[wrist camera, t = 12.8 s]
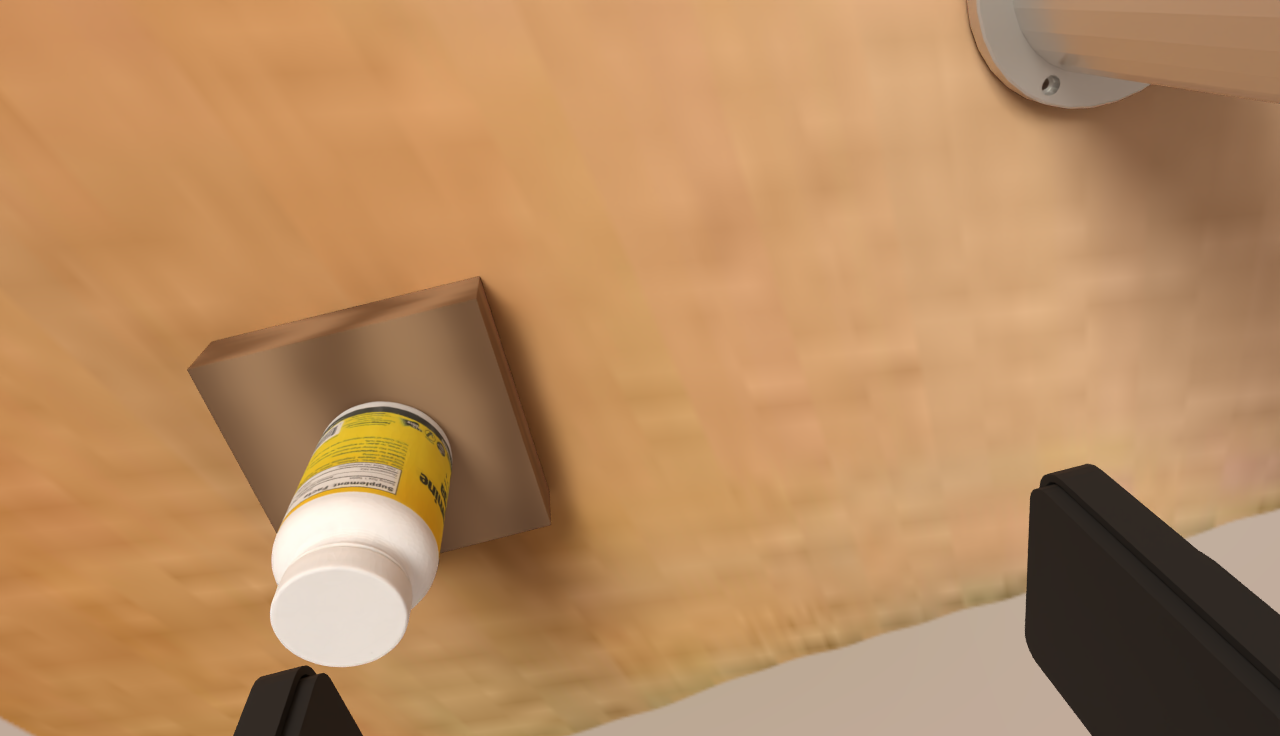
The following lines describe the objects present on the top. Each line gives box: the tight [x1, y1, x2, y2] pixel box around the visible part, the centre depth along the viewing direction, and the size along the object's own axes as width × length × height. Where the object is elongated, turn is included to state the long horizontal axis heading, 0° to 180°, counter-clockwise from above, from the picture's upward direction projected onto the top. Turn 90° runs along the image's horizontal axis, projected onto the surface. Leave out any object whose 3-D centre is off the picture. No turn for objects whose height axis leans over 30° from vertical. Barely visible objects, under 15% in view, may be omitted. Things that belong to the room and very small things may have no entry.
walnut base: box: [187, 276, 551, 553], centre depth 38 cm, size 13×13×3 cm
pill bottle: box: [270, 401, 452, 667], centre depth 32 cm, size 6×6×11 cm
